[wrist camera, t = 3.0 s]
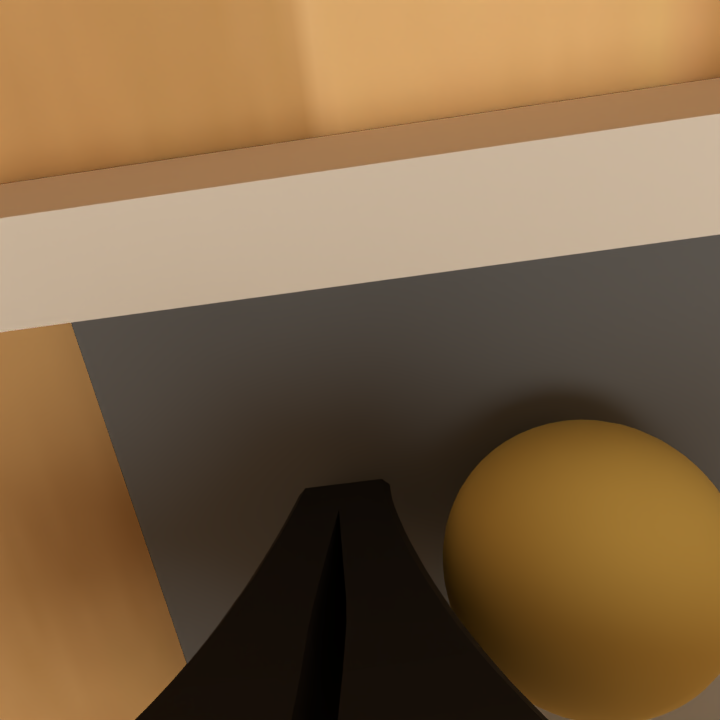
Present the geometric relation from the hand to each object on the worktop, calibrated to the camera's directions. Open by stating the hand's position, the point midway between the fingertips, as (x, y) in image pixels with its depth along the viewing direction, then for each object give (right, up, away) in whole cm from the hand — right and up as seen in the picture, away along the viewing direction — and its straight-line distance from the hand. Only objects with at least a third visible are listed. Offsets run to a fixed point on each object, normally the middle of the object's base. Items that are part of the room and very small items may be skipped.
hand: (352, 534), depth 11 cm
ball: (+3, +1, +1) cm, 3 cm away
